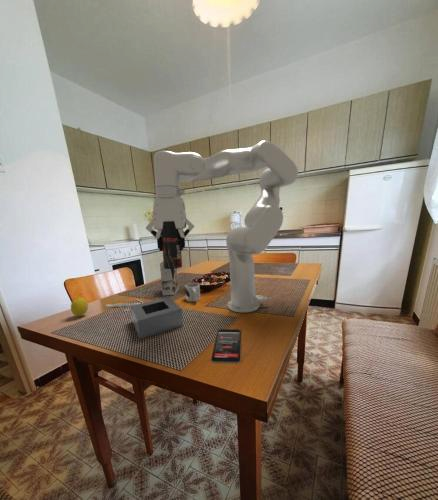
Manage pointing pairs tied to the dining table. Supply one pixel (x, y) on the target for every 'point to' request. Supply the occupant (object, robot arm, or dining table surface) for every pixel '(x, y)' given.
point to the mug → (192, 292)
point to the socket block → (156, 317)
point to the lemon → (79, 306)
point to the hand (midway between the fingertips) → (171, 249)
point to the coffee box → (169, 280)
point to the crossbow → (123, 305)
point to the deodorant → (171, 246)
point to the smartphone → (227, 346)
